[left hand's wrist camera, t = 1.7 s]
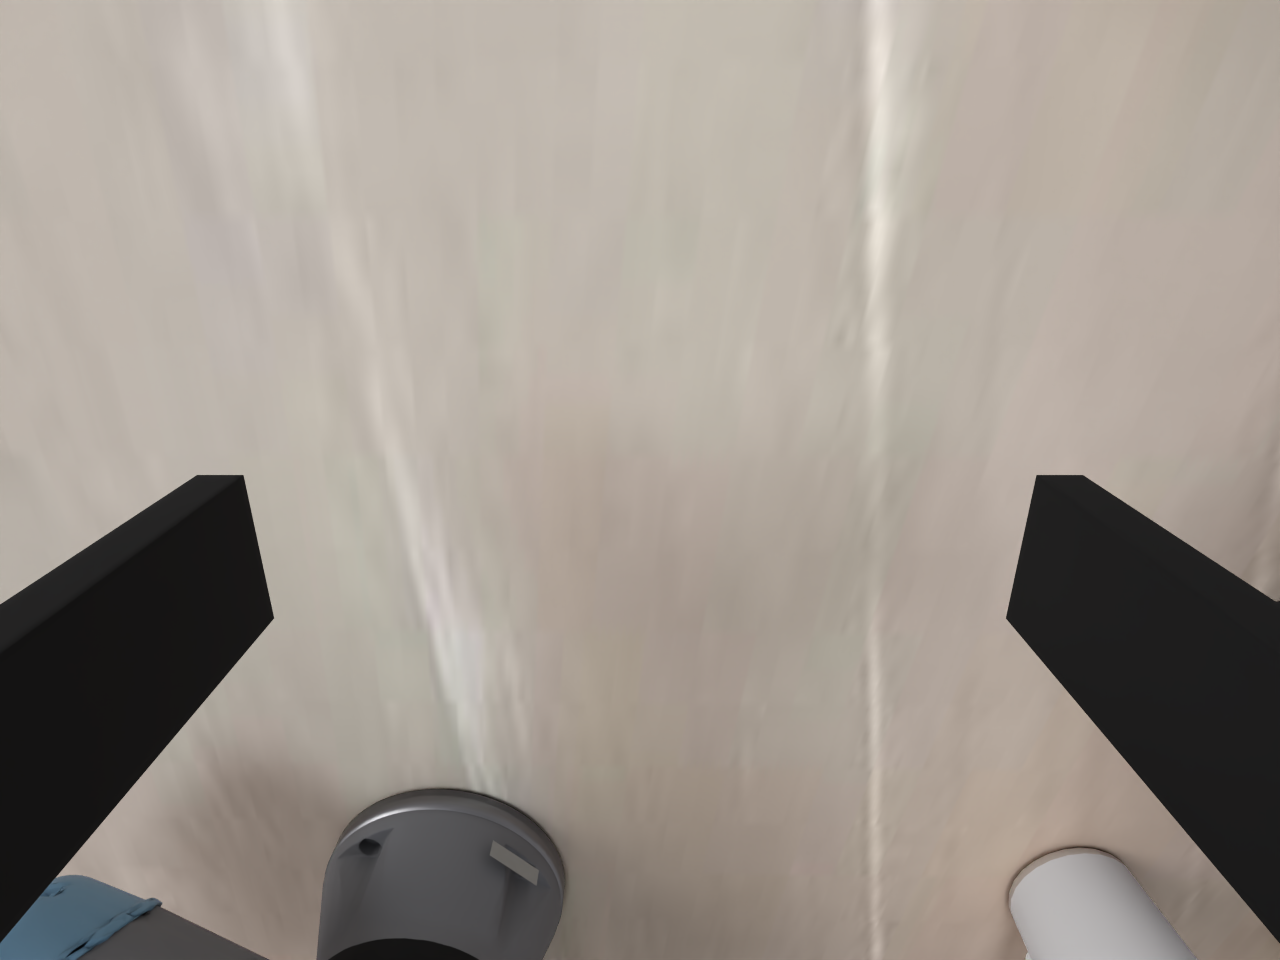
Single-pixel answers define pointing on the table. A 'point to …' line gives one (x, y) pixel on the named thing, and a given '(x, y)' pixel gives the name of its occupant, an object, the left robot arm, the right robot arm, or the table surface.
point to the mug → (1089, 911)
